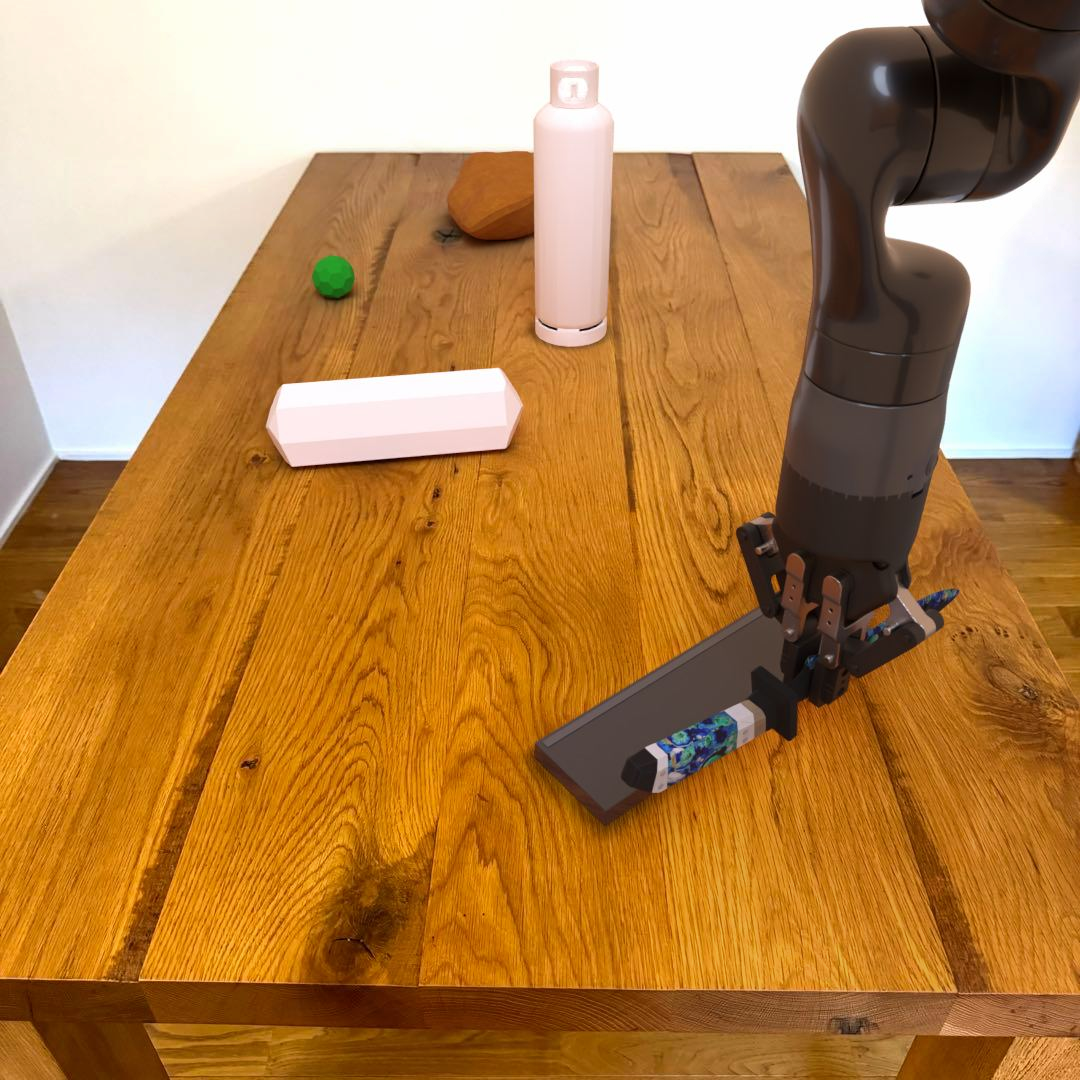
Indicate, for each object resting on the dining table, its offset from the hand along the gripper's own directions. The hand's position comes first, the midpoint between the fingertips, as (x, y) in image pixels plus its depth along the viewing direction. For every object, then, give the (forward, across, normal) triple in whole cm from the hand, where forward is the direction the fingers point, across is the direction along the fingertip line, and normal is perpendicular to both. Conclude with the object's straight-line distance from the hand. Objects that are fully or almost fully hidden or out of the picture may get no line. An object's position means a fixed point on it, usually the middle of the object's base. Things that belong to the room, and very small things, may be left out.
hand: (811, 689), depth 64 cm
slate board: (+6, -7, 0) cm, 10 cm away
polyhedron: (+6, -82, +12) cm, 84 cm away
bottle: (+6, -58, +28) cm, 65 cm away
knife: (+1, 0, 0) cm, 1 cm away
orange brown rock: (+6, -89, +40) cm, 97 cm away
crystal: (+6, -49, 0) cm, 50 cm away
